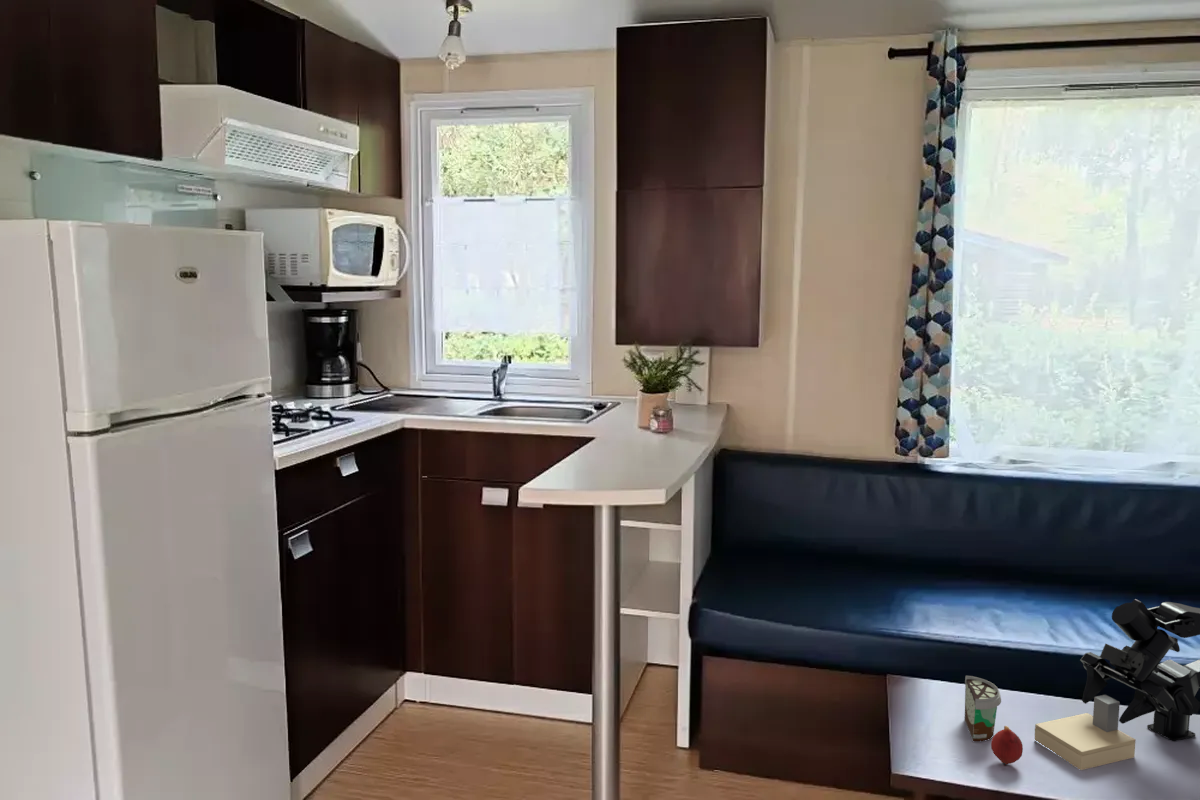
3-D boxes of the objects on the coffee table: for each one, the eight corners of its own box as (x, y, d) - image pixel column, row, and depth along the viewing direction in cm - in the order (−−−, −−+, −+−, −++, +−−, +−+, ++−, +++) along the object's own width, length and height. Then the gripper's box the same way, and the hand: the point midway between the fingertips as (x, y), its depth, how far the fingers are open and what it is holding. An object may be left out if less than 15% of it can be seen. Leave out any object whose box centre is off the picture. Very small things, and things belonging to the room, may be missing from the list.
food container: (1005, 747, 192) (1007, 702, 190) (974, 745, 193) (976, 700, 191) (992, 719, 204) (994, 676, 202) (963, 717, 205) (965, 674, 203)
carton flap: (1086, 716, 198) (1088, 686, 197) (1135, 743, 187) (1137, 711, 186) (1035, 727, 193) (1036, 696, 192) (1081, 755, 182) (1083, 722, 181)
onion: (1021, 760, 187) (1024, 723, 186) (1021, 774, 182) (1023, 736, 180) (990, 754, 189) (992, 717, 188) (989, 767, 184) (991, 730, 183)
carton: (1086, 730, 198) (1086, 716, 198) (1134, 757, 187) (1135, 743, 187) (1034, 741, 194) (1035, 728, 193) (1080, 770, 183) (1081, 756, 182)
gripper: (1089, 615, 199) (1046, 671, 197) (1167, 648, 181) (1120, 710, 179) (1115, 645, 203) (1073, 700, 201) (1194, 680, 185) (1148, 741, 183)
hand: (1101, 712), depth 191 cm, fingers open, 9 cm apart
